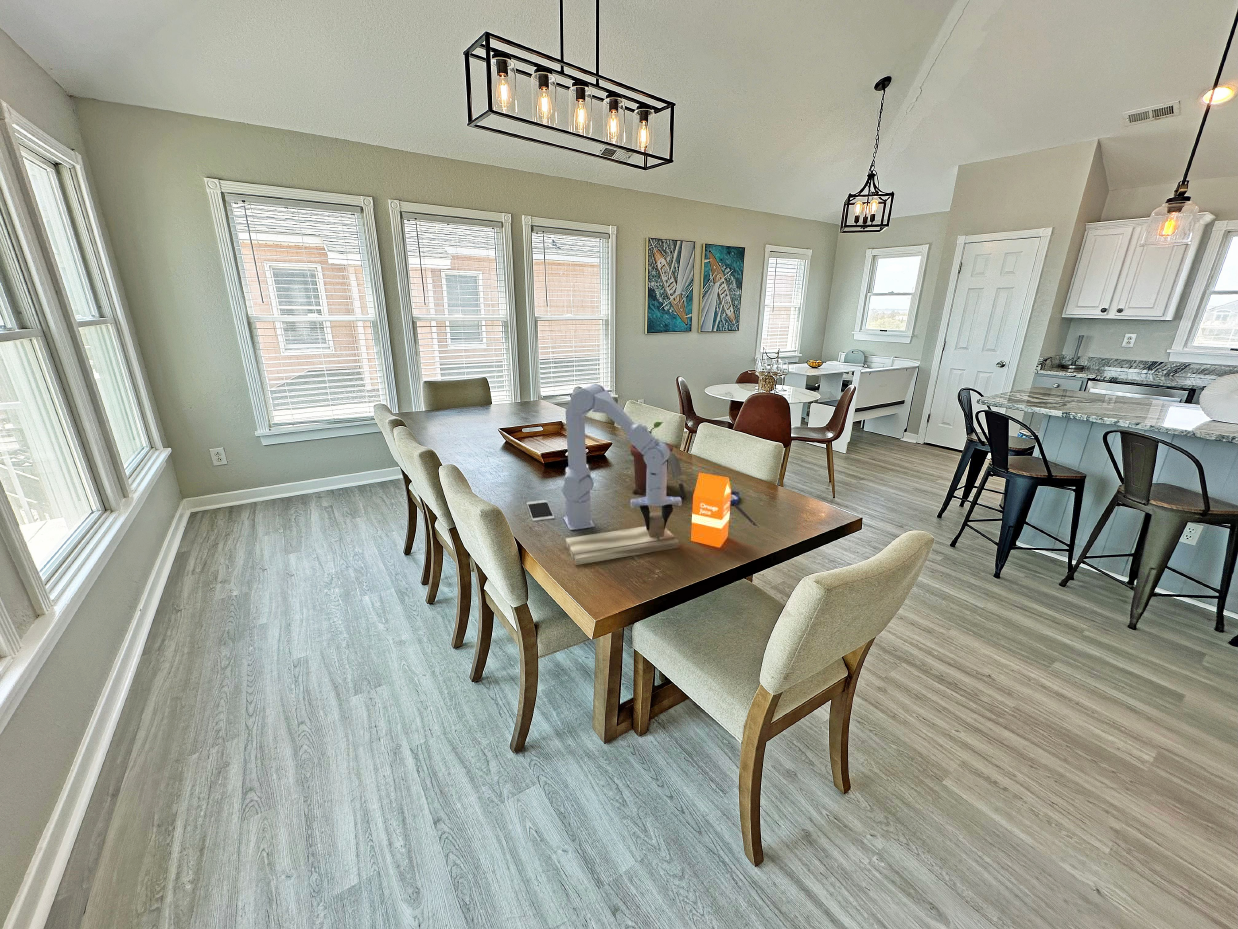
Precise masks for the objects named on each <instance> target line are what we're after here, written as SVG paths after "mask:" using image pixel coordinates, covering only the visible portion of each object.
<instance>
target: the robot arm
mask: <svg viewBox="0 0 1238 929" xmlns="http://www.w3.org/2000/svg"><path fill="white" fill-rule="evenodd" d="M590 412H592V413H600V414H605V415H606V416H608V417H609V418H610V419H611V420H612V421H613V422H614V423H616V425H618V426H619V427H620V428H621V429H622V430H623V431H624V432H625V436H626V439H627V441H629V442H630V443H631V444H633V445H634V446H635V447H636V448H637V449H638V450H639V451H640V452H641V453H642V454H643V455H644V456H643V457H644V461H645V463H646V464H647V482H646V492H645V494H646V495H645V496H643V497H638V498H631V499H630V508H631V509H635V508H636V507H637V508H638V507H639V508H640V511H641V515H642V516H643V520H644V524H645V526H646V529H647V530H649V517H650V513H651V511H650V507H661V515H662V517H663V519H664V529H665V527H666V526H667V522H668V521H669V519H670V516H671V515H672V513H673V511H674V507H673V506H678V507H680V506H682V497H680V496H667V481H668V473H667V461H666V460H667V459H668V458H669V456H670V449H669V447H668V446H667V444H666V443H667V442H665V441H660V440H659V438H655V436H654V435H653V434H651V433H650V432H649V430H648V429H649V428H648V426H647V425H643V424H642V423H635V422H634V421H633V420H632V418H630V416H628V414H627V413H626V412H625V411H624V410H623V409H622V408H621V406H620V405H619V404H618V403H617V402H616V401H615V400H614V398H613V397H612V394H611V393H610V392H609V391H608V390H606V388H604V387H603V385H601V384H599V383H593V384H591V385H589V386H585V387H583V388H582V387H581V388H578V389H576V391H574V392H573V393H572V394H570V401H569V402H568V405H567V407H566V409H565V426H566V427H565V429H566V442H567V444H566V445H567V463H568V469H567V472H566V473H565V475H564V477H563V478H564V483H563V485H562V489H561V491H562V495H563V496H564V499H565V514H566V515H565V516H563V521H564V522H565V523H566V524H565V525H566V526H567V528H568V530H569V531H575V530H581V529H582V530H583V529H588V528H594V527H596V525H595V524H594V522H593V521H592V518H591V515H592V514H591V491H592V490H593V488H594V487H595V486H594V485H595V484H594V483H595V482H594V479H593V478H592V474H591V473H592V472H591V469H589V467H587V452H586V451H587V449H586V427H585V426H586V425H585V417H586V416H587V415H588V414H589V413H590ZM666 528H667V527H666Z"/></svg>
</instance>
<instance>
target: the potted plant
mask: <svg viewBox="0 0 1238 929" xmlns="http://www.w3.org/2000/svg"><path fill="white" fill-rule="evenodd" d="M663 423H664V421H655V422H654V424H653V427H652V428H651V429H650V431H649V430H648V431H649V432H650V433H651V434H652V433H653V432H652V431H653V430H654V429H657V428H659V427H660V426H661V425H662V424H663ZM652 435H653V434H652ZM665 443H666V444H667V446H668V447H669V449H670V456H669V458H668V459H667V460H666V461H667V474H668V469H669V470H670V474H671V477H672V478H671V479H673V480H675V481H677V482H679V484H678V487H679V491H680V495H681V499H685V498H687V495H686V491H685V487H684V484H683V483H682V481H681V480H679V479H678V478H679V477H682V476H683V470H682V467H681V463H680V460H679V458H678V457H677V455H676V453H674V452H673V451H674V450H673V449H674V446H673V445H672V444H670V443H668V442H665ZM629 449H630V450H629V451H630V455H631V456H632V457H633V469H634V484H635V485H634V486H635V488H634V489H632V492H631V493H632V494H633V495H639V496H643V495H645V493H646V482H647V464H646V463H645V461H644V457H643V456H644V455H643V454H642V453H641V452H640V451H639V450H638V449H637V448H636V447H635V446H634V445H633V444H632V443H631V444H630V446H629ZM642 491H643V492H642Z"/></svg>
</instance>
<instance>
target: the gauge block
mask: <svg viewBox="0 0 1238 929" xmlns="http://www.w3.org/2000/svg"><path fill="white" fill-rule="evenodd" d="M648 533H649V536H650V537H657V539H659V537H664V519H663V517H662V512H661V511H657V512H650V517H649V530H648Z"/></svg>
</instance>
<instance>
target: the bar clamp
mask: <svg viewBox="0 0 1238 929" xmlns="http://www.w3.org/2000/svg"><path fill="white" fill-rule="evenodd" d="M739 501H740V492H739V491H737V490H732V489H731V500H730V506H734V507H735V508H736V509H737V510H738V511H739V512H740V513H741V514H742V515H743V517H745V518H746V520H748V522H750V523H751V524H752V525H753V526H756V527H758V524H757V523H756V522H755V521H753V519H751V517H750V516H749V515H748V514H747V513H746V512H745V511H744V510H743V509H742V508H741V507H740V506H739V505H738V504H737V503H739ZM733 504H734V505H733ZM752 522H753V523H752Z"/></svg>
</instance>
